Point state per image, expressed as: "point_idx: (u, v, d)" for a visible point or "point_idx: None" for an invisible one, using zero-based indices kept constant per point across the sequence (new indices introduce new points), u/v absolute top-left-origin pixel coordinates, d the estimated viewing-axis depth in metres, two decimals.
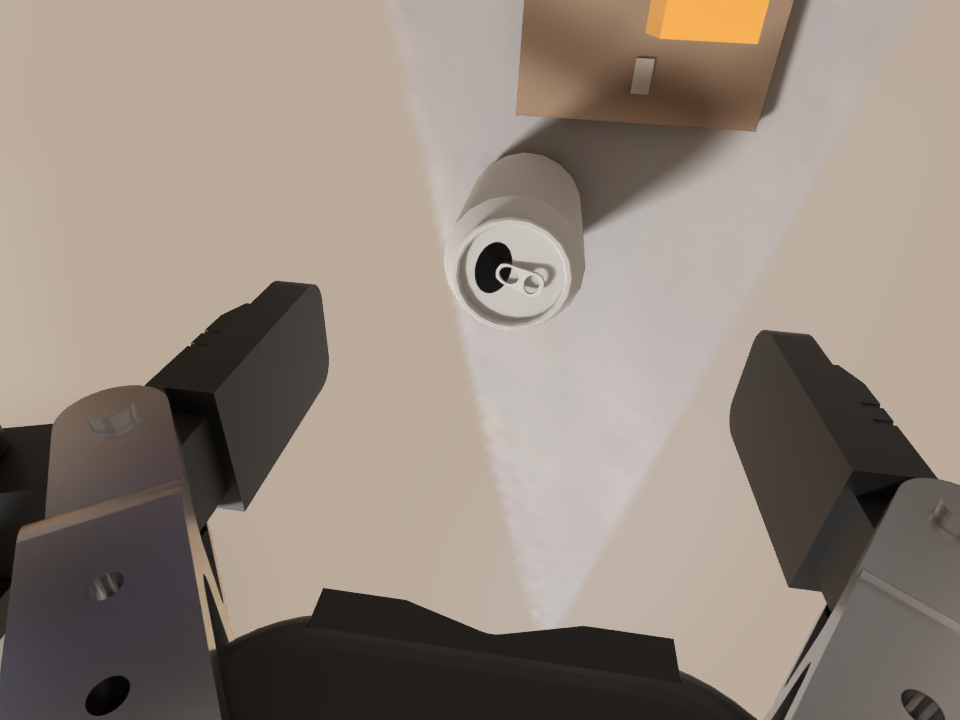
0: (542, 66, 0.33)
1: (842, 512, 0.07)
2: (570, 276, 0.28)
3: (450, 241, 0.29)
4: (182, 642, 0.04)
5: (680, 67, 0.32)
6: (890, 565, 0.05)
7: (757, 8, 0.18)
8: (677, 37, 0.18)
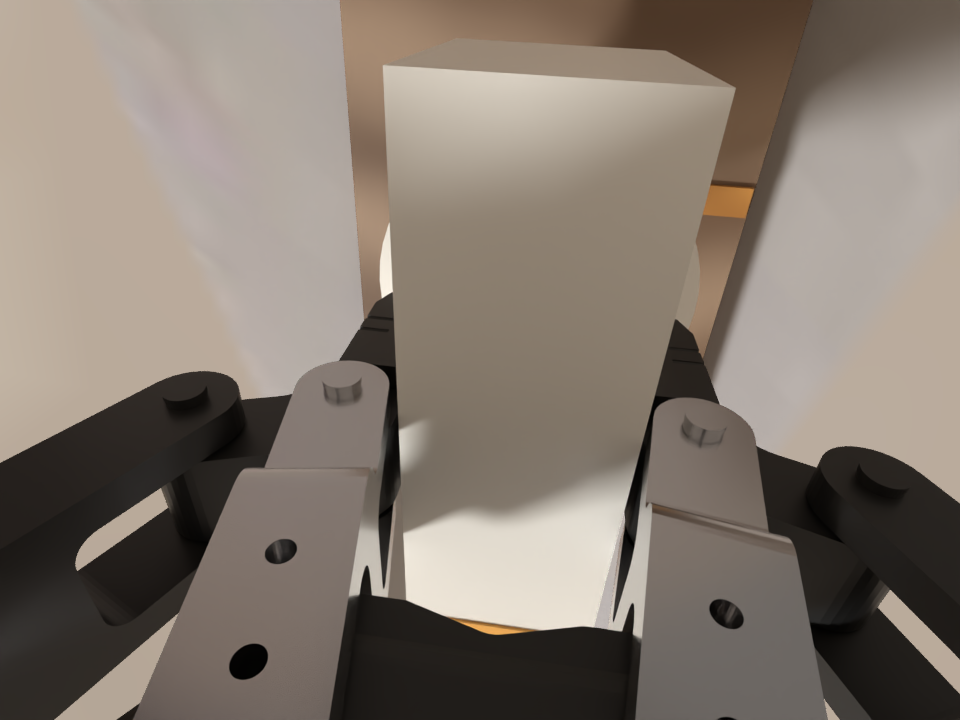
0: None
1: None
2: None
3: None
4: (320, 638, 0.04)
5: None
6: (666, 487, 0.06)
7: None
8: None
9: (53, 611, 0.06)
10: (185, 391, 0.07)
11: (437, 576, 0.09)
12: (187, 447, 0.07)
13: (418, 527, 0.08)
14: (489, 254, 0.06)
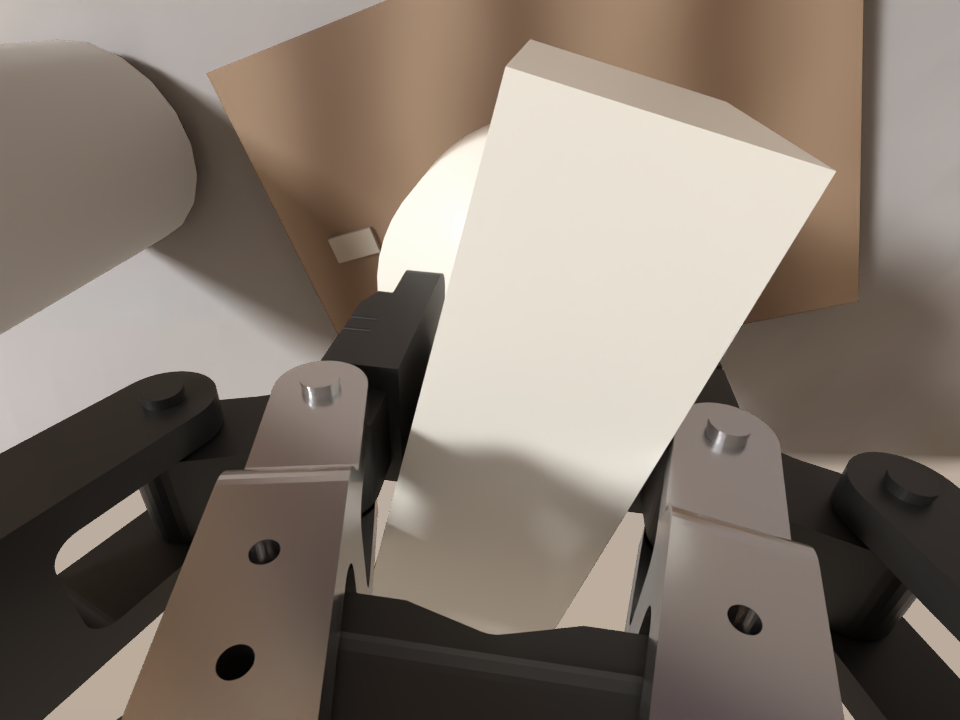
0: (291, 88, 0.19)
1: None
2: None
3: None
4: (307, 635, 0.04)
5: None
6: (687, 492, 0.06)
7: None
8: None
9: (33, 615, 0.06)
10: (161, 391, 0.07)
11: (407, 570, 0.09)
12: (162, 447, 0.06)
13: (403, 521, 0.08)
14: (555, 273, 0.06)
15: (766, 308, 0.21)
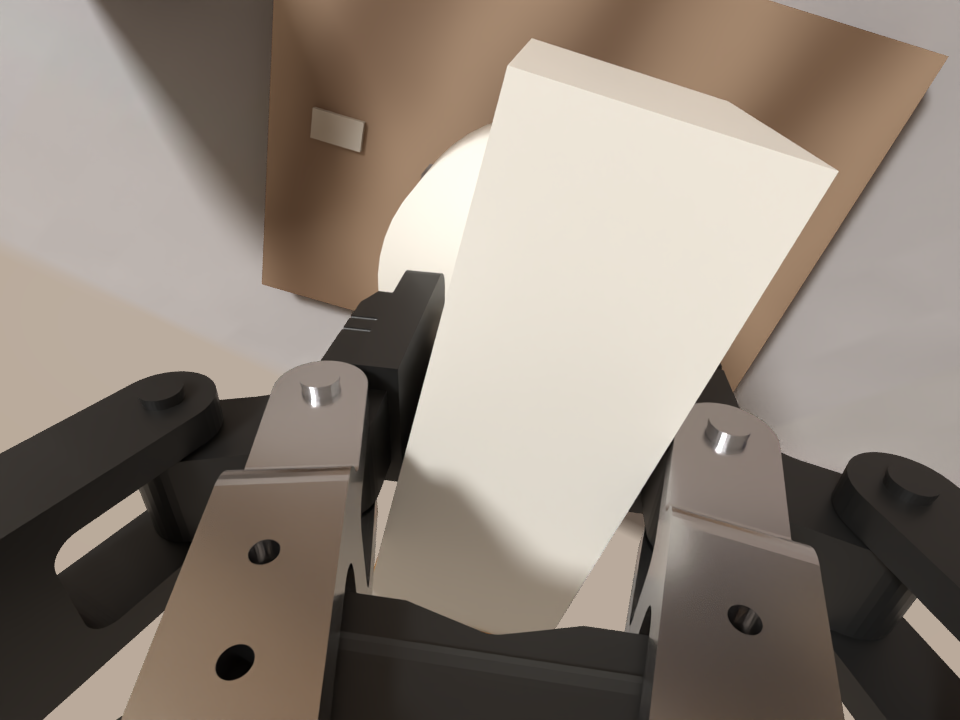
0: None
1: None
2: None
3: None
4: (306, 635, 0.04)
5: (347, 189, 0.21)
6: (687, 491, 0.06)
7: None
8: None
9: (33, 615, 0.06)
10: (161, 391, 0.07)
11: (408, 569, 0.09)
12: (161, 447, 0.06)
13: (403, 520, 0.08)
14: (556, 273, 0.06)
15: None
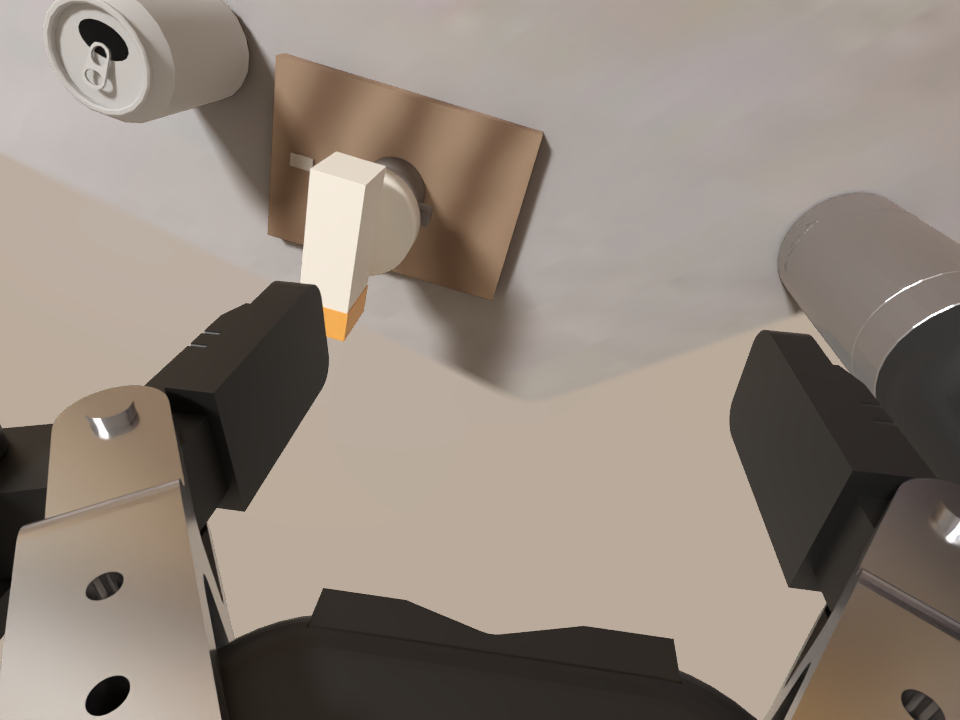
0: (310, 85, 0.41)
1: (842, 512, 0.07)
2: (108, 113, 0.34)
3: None
4: (182, 642, 0.04)
5: (307, 188, 0.46)
6: (890, 565, 0.05)
7: (341, 327, 0.35)
8: None
9: None
10: None
11: None
12: None
13: (305, 270, 0.33)
14: (326, 204, 0.30)
15: (459, 285, 0.48)
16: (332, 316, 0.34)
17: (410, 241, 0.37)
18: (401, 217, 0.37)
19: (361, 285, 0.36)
